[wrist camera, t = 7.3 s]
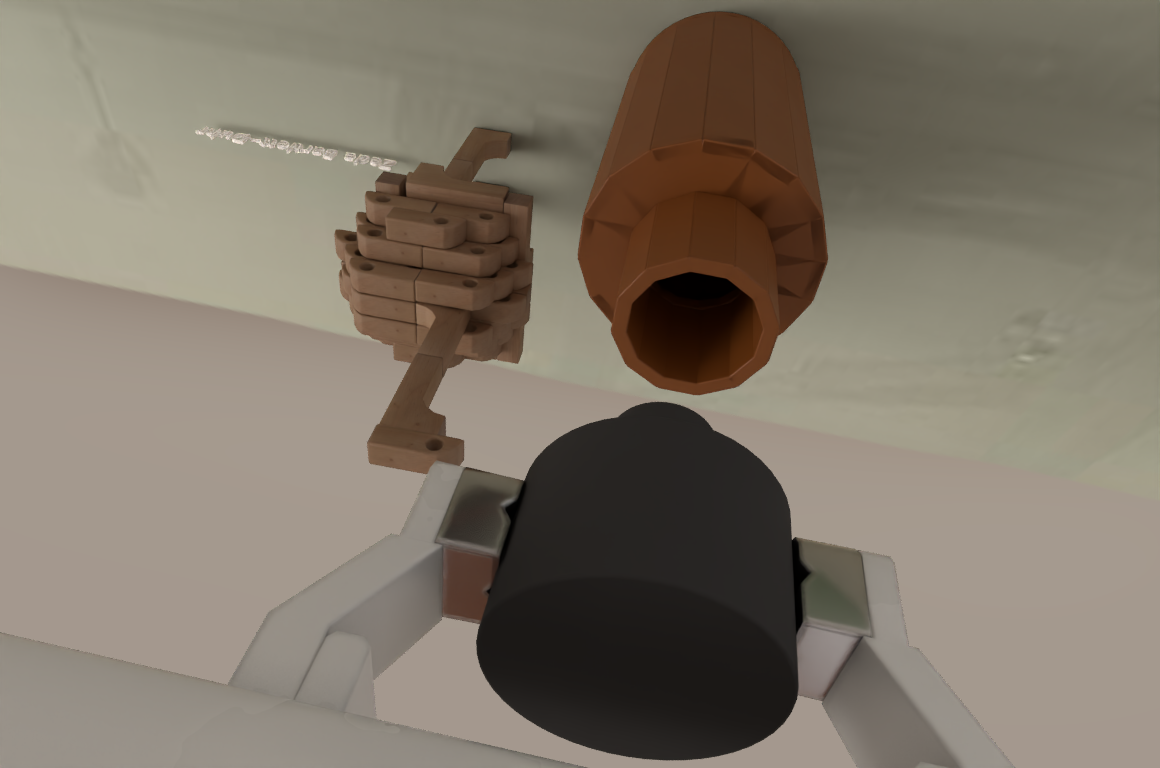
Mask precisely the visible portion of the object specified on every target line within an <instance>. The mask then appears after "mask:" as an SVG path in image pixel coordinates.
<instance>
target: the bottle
mask: <svg viewBox="0 0 1160 768" xmlns="http://www.w3.org/2000/svg"><path fill="white" fill-rule="evenodd" d="M578 260H579V264H580V267H581V270H582V273H583V277H584V280H585V283H586V287H587V290H588V293H589V296H590V298H591V299H592V300H593V301H594V303H595V304H596V305H597V306H598V307H599V308H600V310H601V311H602V312H603V313H604V314H605V316H606V317H607V318H608V319H609V320H610V322H611V323H612V327H611V334H612V336H613V338H614V340H615V342H616V345H617V347H618V349H619V351H620V353H621V355H622V358H623V360H624V362H625V364H626V365H627V366H628V367H629V368H631V369H632V370H633V371H635V372H636V373H638V374H639V375H640V376H642V377H643V378H645V379H646V380H647V381H649V382H650V383H652V384H653V385H654V386H656V387H658V388H661V389H667V390H672V391H677V392H682V393H687V394H692V395H703V394H707V393H712V392H717V391H721V390H726V389H731V388H735V387H737V386H739V385H741V384H742V383H743V382H744V381H746V380H747V379H748V378H750V377H751V376H752V375H753V374H755V373H756V372H757V371H758V370H760V369H761V368H762V367H764V366H765V365H766V364H767V362H768V361H769V359H770V356H771V353H772V351H773V348H774V345H775V342H776V339H777V336H778V335H780V334H781V333H783V332H784V331H785V330H786V329H787V328H788V327H789V326H790V325H791V324H792V323H793V322H794V321H795V320H796V319H797V318H798V317H799V316H800V315H801V313H802V312H803V311H804V310H805V309H806V308H807V307H808V306H809V305H810V304H811V303H812V301H813V300H814V297H815V295H816V292H817V289H818V287H819V284H820V281H821V278H822V276H823V273H824V270H825V268H826V265H827V260H828V254H827V243H826V233H825V223H824V215H823V209H822V203H821V197H820V191H819V185H818V179H817V174H816V168H815V162H814V156H813V150H812V144H811V138H810V132H809V126H808V121H807V115H806V109H805V103H804V97H803V91H802V85H801V79H800V73H799V70H798V68H797V66H796V64H795V62H794V60H793V58H792V56H791V54H790V52H789V50H788V49H787V47H786V46H785V44H784V43H783V42H782V41H781V39H780V38H779V37H778V36H777V35H776V34H775V33H774V32H772V31H771V30H770V29H769V28H768V27H766V26H765V25H763V24H761V23H760V22H758V21H756V20H754V19H751V18H749V17H747V16H744V15H740V14H736V13H729V12H707V13H701V14H696V15H693V16H690V17H687V18H684V19H682V20H680V21H678V22H676V23H674V24H672V25H671V26H669V27H668V28H666V29H665V30H663V31H662V32H661V33H660V34H659V35H657V36H656V37H655V38H654V39H653V40H652V41H651V43H650V44H649V45H648V46H647V47H646V49H645V50H644V51H643V53H642V54H641V56H640V58H639V59H638V61H637V63H636V65H635V67H634V69H633V71H632V72H631V74H630V77H629V80H628V83H627V86H626V89H625V92H624V95H623V98H622V101H621V104H620V107H619V110H618V113H617V116H616V119H615V122H614V125H613V128H612V131H611V134H610V137H609V140H608V143H607V146H606V149H605V152H604V155H603V158H602V161H601V164H600V167H599V170H598V173H597V176H596V179H595V182H594V185H593V188H592V191H591V194H590V197H589V200H588V203H587V206H586V209H585V212H584V215H583V220H582V228H581V235H580V242H579V249H578Z"/></svg>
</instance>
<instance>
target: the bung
mask: <svg viewBox="0 0 1160 768" xmlns="http://www.w3.org/2000/svg"><path fill="white" fill-rule="evenodd" d="M476 644H477V656H478V660H479V664H480V667H481V669H482V672H483V674H484V676H485V678H486V679H487V681H488V682H489V684H490V685H491V687H492V688H493V690H494V691H495V692H496V693H497V694H498V695H499V696H500V697H501V699H502V700H503V701H504V702H506V703H507V704H508V705H509V706H510V707H511V708H513V709H514V710H515V711H516V712H518V713H519V714H520V715H522V716H523V717H524V718H526V719H527V720H529V721H531V722H532V723H534V724H536V725H537V726H539V727H541V728H542V729H544V730H546V731H548V732H550V733H553V734H554V735H557V736H559V737H561V738H564V739H566V740H569V741H571V742H573V743H576V744H580V745H583V746H586V747H588V748H592V749H596V750H599V751H603V752H607V753H611V754H616V755H621V756H627V757H635V758H642V759H653V760H692V759H702V758H709V757H715V756H720V755H724V754H728V753H733V752H736V751H739V750H742V749H744V748H747V747H750V746H752V745H754V744H756V743H758V742H760V741H762V740H764V739H765V738H767V737H768V736H769V735H771V734H773V733H774V732H775V731H776V730H777V729H778V728H779V727H780V726H781V725H783V723H784V722H785V721H786V719H787V718H788V717H789V715H790V714H791V712H792V710H793V707H794V705H795V703H796V700H797V696H798V690H799V681H798V660H797V640H796V619H795V598H794V577H793V556H792V535H791V518H790V508H789V505H788V501H787V497H786V495H785V493H784V491H783V489H782V487H781V485H780V483H779V482H778V480H777V479H776V477H775V476H774V475H773V473H772V472H771V470H770V469H768V467H767V466H766V465H765V464H764V463H763V462H762V461H761V460H760V459H759V458H757V456H755V455H754V454H753V453H752V452H751V451H749V450H748V449H747V448H745V447H744V446H742V445H741V444H739V443H737V442H736V441H734V440H732V439H731V438H729V437H727V436H724V435H723V434H721V433H719V432H716V431H714V430H713V429H712V428H711V426H710V425H709V424H708V422H707V421H706V420H705V419H704V418H702V417H701V416H700V415H699V414H697V413H696V412H694V411H692V410H690V409H688V408H686V407H684V406H681V405H677V404H673V403H667V402H650V403H644V404H640V405H637V406H635V407H632V408H630V409H628V410H626V411H625V412H624V413H622V414H621V415H620V416H619V417H617V418H611V419H604V420H601V421H597V422H593V423H589V424H586V425H584V426H581V427H579V428H576V429H574V430H572V431H570V432H568V433H566V434H565V435H563V436H561V437H559V438H558V439H557V440H555V441H554V442H553V443H551V444H550V445H549V446H548V447H546V448H545V449H544V450H543V452H542V453H541V454H540V455H539V456H538V457H537V458H536V459H535V461H534V463H533V464H532V466H531V467H530V469H529V471H528V473H527V476H526V478H525V485H524V488H523V492H522V495H521V498H520V501H519V505H518V508H517V511H516V513H515V516H514V518H513V521H512V524H511V526H510V534H509V537H508V540H507V543H506V547H505V550H504V553H503V556H502V559H501V562H500V566H499V569H498V571H497V573H496V576H495V578H494V581H493V584H492V587H491V591H490V594H489V597H488V600H487V603H486V607H485V610H484V613H483V616H482V620H481V623H480V626H479V629H478V635H477V640H476Z"/></svg>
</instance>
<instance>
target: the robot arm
mask: <svg viewBox="0 0 1160 768" xmlns="http://www.w3.org/2000/svg"><path fill="white" fill-rule="evenodd" d="M524 485H525V481H523V480H519V479H515V478H511V477H506V476H502V475H497V474H494V473H490V472H485V471H481V470H477V469H472V468H468V467H462V466H458V465H454V464H449V463H445V462H441V461H437V460H436V461H435V462H434V464H433V465H432V466H431V467H430V469H429V471H428V474H427V476H426V478H425V480H424V482H423V485H422V487H421V489H420V491H419V494H418V496H417V498H416V500H415V503H414V505H413V507H412V509H411V511H410V513H409V516H408V518H407V520H406V522H405V525H404V527H403V529H402V531H401V534H400V535H394V534H390V535H388V536H387V537H385V538H384V539H382V540H381V541H379V542H377V543H376V544H374V545H373V546H371V547H369V548H368V549H367V550H365V551H363V552H362V553H360V554H359V555H357V556H355V557H354V558H353V559H351V560H349V561H348V562H346V563H345V564H343V565H341V566H340V567H338V568H337V569H335V570H334V571H332V572H330V573H329V574H327V575H326V576H324V577H323V578H322V579H320V580H318V581H316V582H315V583H313V584H312V585H310V586H309V587H307V588H306V589H304V590H303V591H301V592H299V593H298V594H296V595H295V596H293V597H291V598H290V599H288V600H287V601H285V602H284V603H282V604H281V605H279V606H278V607H276V608H274V609H273V610H271V611H270V612H269V613H268V614H267V616H266V618H265V619H264V621H263V623H262V625H261V626H260V628H259V630H258V632H257V633H256V636H255V637H254V639H253V641H252V643H251V644H250V646H249V648H248V649H247V651H246V653H245V655H244V656H243V658H242V660H241V662H240V663H239V665H238V667H237V669H236V671H235V672H234V674H233V676H232V678H231V679H230V681H229V683H228V685H226V684H221V683H217V682H213V681H209V680H204V679H200V678H196V677H191V676H186V675H183V674H178V673H174V672H170V671H165V670H161V669H157V668H152V667H148V666H144V665H139V664H135V663H130V662H126V661H122V660H117V659H113V658H109V657H104V656H100V655H96V654H92V653H87V652H83V651H79V650H74V649H70V648H66V647H61V646H57V645H53V644H48V643H44V642H40V641H35V640H31V639H27V638H22V637H18V636H14V635H9V634H5V633H1V632H0V768H586V767H582V766H578V765H573V764H569V763H565V762H560V761H555V760H551V759H547V758H543V757H538V756H534V755H529V754H525V753H520V752H517V751H512V750H508V749H504V748H499V747H495V746H491V745H486V744H481V743H478V742H473V741H469V740H465V739H460V738H456V737H452V736H447V735H443V734H439V733H434V732H430V731H426V730H421V729H417V728H412V727H408V726H404V725H399V724H395V723H391V722H386V721H382V720H377V719H376V708H375V696H374V683H373V680H375V679H376V678H377V677H378V676H379V675H380V674H381V673H382V672H384V671H385V670H386V669H387V668H388V667H389V666H390V665H391V664H393V663H394V662H395V661H396V660H397V659H398V658H399V657H400V656H402V655H403V654H404V653H405V652H406V651H407V650H408V649H409V648H411V647H412V646H413V645H414V644H415V643H416V642H417V641H418V640H420V639H421V638H422V637H423V636H424V635H425V634H426V633H427V632H428V631H430V630H431V629H432V628H433V627H434V626H435V625H436V624H438V623H439V622H440V621H441V620H442V617H446V618H451V619H456V620H462V621H467V622H472V623H477V624H480V623H481V620H482V616H483V613H484V610H485V607H486V603H487V600H488V597H489V594H490V591H491V587H492V584H493V581H494V578H495V576H496V573H497V571H498V569H499V566H500V562H501V559H502V556H503V553H504V550H505V547H506V543H507V540H508V537H509V534H510V526H511V524H512V521H513V518H514V516H515V513H516V511H517V508H518V505H519V501H520V498H521V495H522V492H523V488H524ZM792 556H793V577H794V598H795V619H796V640H797V660H798V681H799V690H798V695H800V696H804V697H808V698H812V699H816V700H820V701H823V702H822V705H823V707H824V709H825V710H826V712H827V714H828V716H829V718H830V719H831V721H832V723H833V725H834V727H835V728H836V730H837V732H838V734H839V736H840V737H841V739H842V741H843V743H844V744H845V746H846V748H847V750H848V752H849V753H850V755H851V757H852V759H853V760H854V762H855V764H856V766H857V768H1015V767H1014V766H1013V764H1012V763H1011V762H1010V761H1009V759H1008V758H1007V757H1006V756H1005V755H1004V753H1003V752H1002V751H1001V750H1000V748H999V747H998V746H997V745H996V743H995V742H994V741H993V740H992V738H991V737H990V736H989V735H988V734H987V732H986V731H985V730H984V728H983V727H982V726H981V725H980V724H979V722H978V721H977V720H976V719H975V717H974V716H973V715H972V714H971V712H970V711H969V710H968V709H967V707H966V706H965V705H964V704H963V703H962V701H961V700H960V699H959V698H958V696H957V695H956V694H955V693H954V692H953V690H952V689H951V688H950V686H949V685H948V684H947V683H946V682H945V680H944V679H943V678H942V677H941V675H940V674H939V673H938V672H937V670H936V669H935V668H934V667H933V666H932V664H931V663H930V662H929V661H928V659H927V658H926V657H925V656H924V654H923V653H922V652H921V651H920V650H919V648H915V647H911V646H909V643H908V637H907V632H906V626H905V621H904V615H903V609H902V604H901V598H900V592H899V587H898V581H897V576H896V570H895V564H894V562H893V560H892V559H891V557H889V556H885V555H880V554H875V553H870V552H865V551H861V550H855V549H851V548H847V547H842V546H837V545H832V544H827V543H822V542H817V541H812V540H807V539H802V538H797V537H795V538H794V539H793V540H792Z"/></svg>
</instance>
